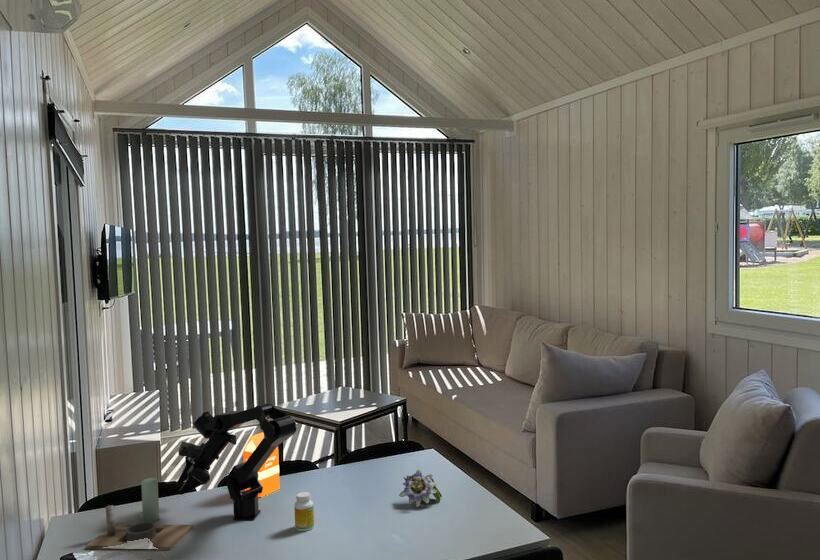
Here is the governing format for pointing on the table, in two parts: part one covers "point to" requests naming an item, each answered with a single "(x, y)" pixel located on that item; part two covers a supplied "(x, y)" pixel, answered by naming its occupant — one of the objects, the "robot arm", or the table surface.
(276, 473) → the orange juice
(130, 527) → the ring holder
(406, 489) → the passion flower
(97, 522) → the table surface
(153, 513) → the pale green cylinder
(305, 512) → the supplement bottle
